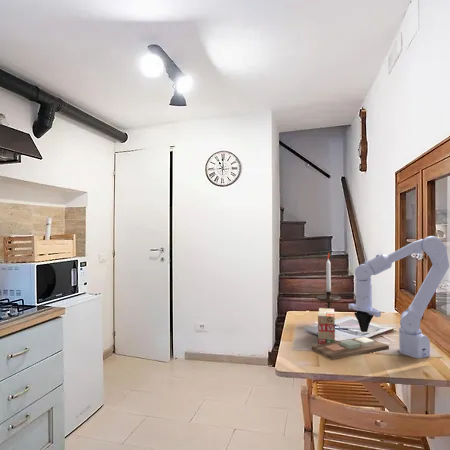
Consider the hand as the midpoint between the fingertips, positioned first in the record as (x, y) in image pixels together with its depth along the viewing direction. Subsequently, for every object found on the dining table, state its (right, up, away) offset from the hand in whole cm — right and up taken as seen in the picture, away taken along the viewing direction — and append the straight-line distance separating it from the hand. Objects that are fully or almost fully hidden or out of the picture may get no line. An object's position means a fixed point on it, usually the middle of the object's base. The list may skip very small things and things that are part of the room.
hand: (364, 331), depth 139 cm
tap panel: (-6, -7, -3) cm, 10 cm away
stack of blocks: (-11, -7, +12) cm, 18 cm away
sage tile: (-6, -6, -3) cm, 9 cm away
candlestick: (-5, -7, +28) cm, 29 cm away
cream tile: (0, -6, 0) cm, 6 cm away
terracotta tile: (-13, -7, -6) cm, 15 cm away
